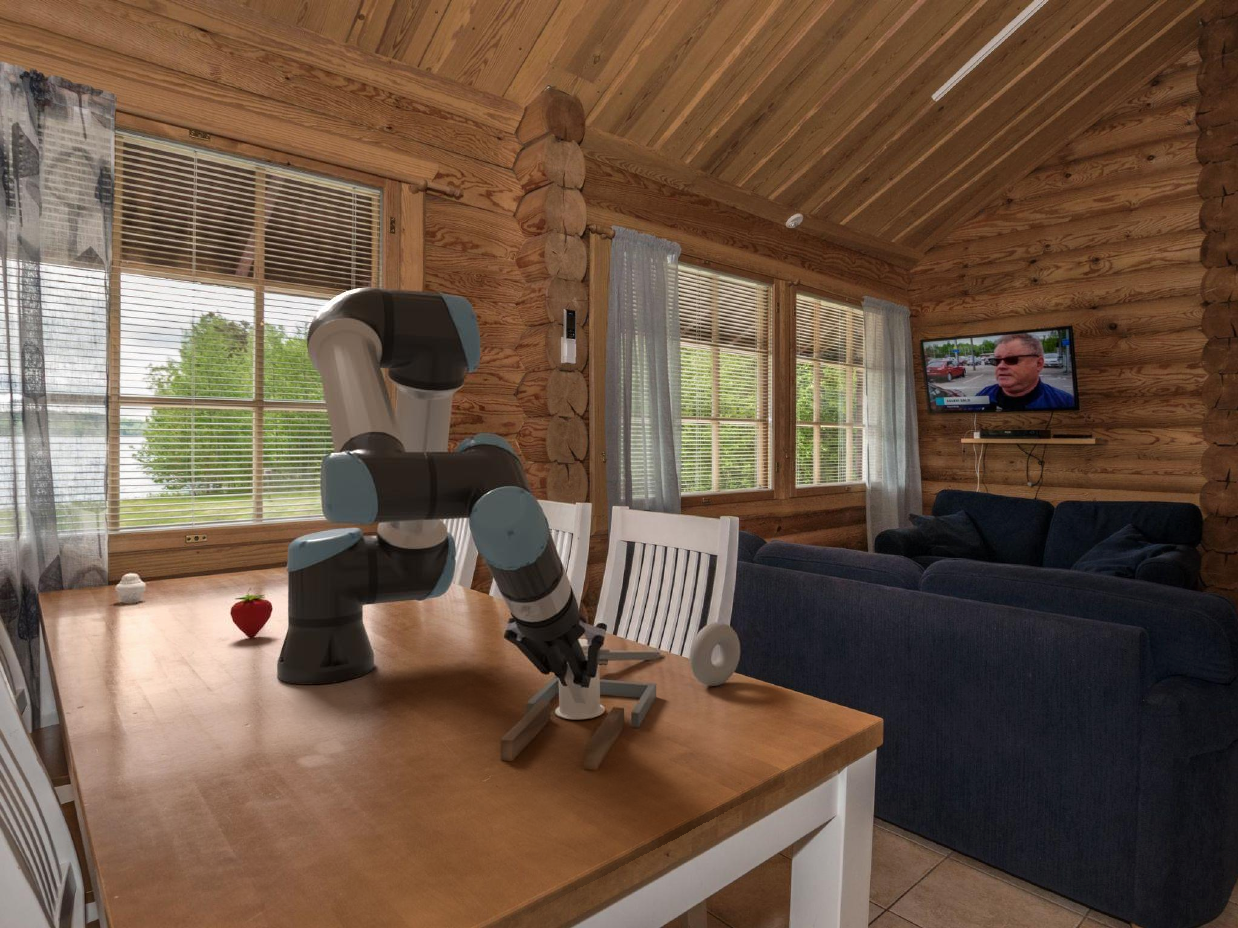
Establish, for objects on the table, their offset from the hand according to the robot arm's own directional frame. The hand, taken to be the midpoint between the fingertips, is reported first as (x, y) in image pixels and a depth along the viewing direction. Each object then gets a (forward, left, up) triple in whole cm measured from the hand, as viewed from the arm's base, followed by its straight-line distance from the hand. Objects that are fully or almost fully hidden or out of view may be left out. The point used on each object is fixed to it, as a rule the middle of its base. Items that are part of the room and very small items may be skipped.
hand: (582, 693), depth 103 cm
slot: (0, -7, -4) cm, 8 cm away
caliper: (-1, +26, -5) cm, 26 cm away
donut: (+16, +20, -4) cm, 26 cm away
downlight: (-2, +4, -4) cm, 6 cm away
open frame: (0, +6, -4) cm, 7 cm away
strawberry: (-75, +27, -4) cm, 80 cm away
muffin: (-126, +48, -4) cm, 135 cm away
